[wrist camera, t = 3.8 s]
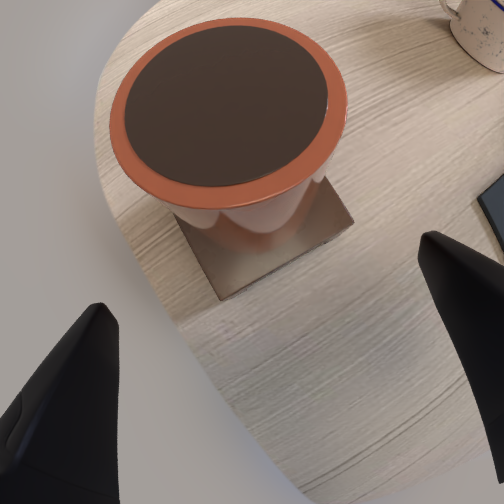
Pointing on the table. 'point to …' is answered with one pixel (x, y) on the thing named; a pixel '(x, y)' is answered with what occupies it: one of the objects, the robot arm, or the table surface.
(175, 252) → the table surface
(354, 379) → the table surface
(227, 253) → the brown square slab
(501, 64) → the teacup with lid
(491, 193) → the desk mat
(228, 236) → the cup
